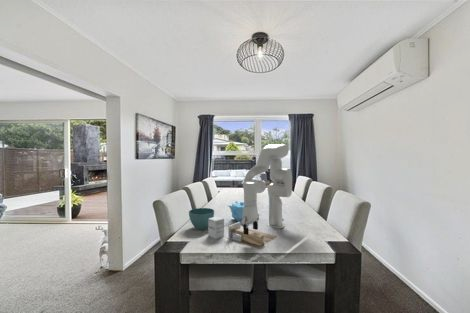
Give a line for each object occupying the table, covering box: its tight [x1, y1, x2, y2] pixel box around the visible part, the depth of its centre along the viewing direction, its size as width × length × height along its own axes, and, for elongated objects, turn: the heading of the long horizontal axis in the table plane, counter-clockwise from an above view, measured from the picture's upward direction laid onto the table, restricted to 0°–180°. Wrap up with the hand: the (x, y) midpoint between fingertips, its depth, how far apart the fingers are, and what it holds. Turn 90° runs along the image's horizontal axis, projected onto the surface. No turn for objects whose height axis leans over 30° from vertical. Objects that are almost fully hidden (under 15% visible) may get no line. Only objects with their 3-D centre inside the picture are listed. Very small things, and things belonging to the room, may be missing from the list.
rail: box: [235, 228, 264, 247], centre depth 133 cm, size 4×18×5 cm, turn 51°
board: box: [226, 228, 278, 249], centre depth 139 cm, size 22×23×2 cm
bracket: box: [227, 221, 242, 243], centre depth 138 cm, size 11×8×8 cm
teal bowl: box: [188, 207, 215, 231], centre depth 162 cm, size 18×18×12 cm
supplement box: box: [207, 216, 225, 240], centre depth 142 cm, size 7×7×13 cm
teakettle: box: [228, 200, 244, 224], centre depth 180 cm, size 19×19×15 cm
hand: (250, 231), depth 133 cm, fingers open, 9 cm apart
